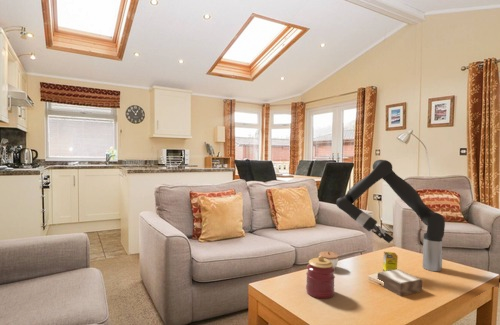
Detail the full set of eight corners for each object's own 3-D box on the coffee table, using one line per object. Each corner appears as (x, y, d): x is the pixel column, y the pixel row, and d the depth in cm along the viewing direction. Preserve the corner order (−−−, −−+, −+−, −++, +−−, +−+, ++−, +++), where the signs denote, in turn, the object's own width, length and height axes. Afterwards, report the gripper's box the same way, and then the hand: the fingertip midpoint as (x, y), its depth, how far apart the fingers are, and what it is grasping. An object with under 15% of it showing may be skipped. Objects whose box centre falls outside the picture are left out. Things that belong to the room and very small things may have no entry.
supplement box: (397, 275, 164) (397, 255, 163) (385, 274, 165) (386, 254, 165) (394, 271, 169) (394, 252, 169) (382, 270, 171) (383, 251, 170)
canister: (300, 288, 144) (301, 252, 144) (322, 284, 149) (323, 249, 149) (316, 301, 132) (318, 261, 132) (340, 296, 137) (341, 258, 137)
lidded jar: (323, 263, 180) (323, 247, 180) (340, 267, 174) (341, 251, 173) (315, 268, 171) (316, 252, 171) (334, 272, 165) (334, 256, 165)
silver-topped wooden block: (397, 280, 157) (398, 268, 157) (421, 291, 144) (422, 279, 144) (377, 283, 152) (377, 272, 152) (400, 296, 139) (400, 283, 139)
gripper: (367, 217, 165) (394, 237, 158) (372, 215, 177) (397, 234, 169) (359, 227, 167) (385, 247, 159) (365, 225, 179) (389, 244, 171)
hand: (391, 240), depth 164 cm, fingers open, 8 cm apart
